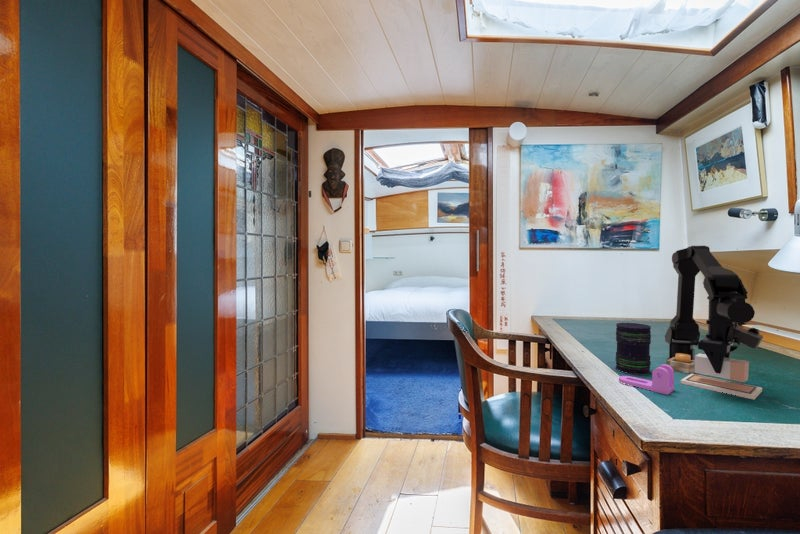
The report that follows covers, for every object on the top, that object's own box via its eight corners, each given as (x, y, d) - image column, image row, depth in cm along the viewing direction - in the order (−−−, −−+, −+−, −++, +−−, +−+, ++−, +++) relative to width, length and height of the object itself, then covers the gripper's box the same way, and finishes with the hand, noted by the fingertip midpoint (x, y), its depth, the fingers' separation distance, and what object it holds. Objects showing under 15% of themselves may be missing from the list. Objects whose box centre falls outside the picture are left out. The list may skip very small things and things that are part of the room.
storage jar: (644, 377, 116) (645, 329, 116) (610, 370, 124) (611, 325, 123) (654, 370, 123) (655, 325, 123) (621, 364, 130) (622, 321, 130)
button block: (666, 369, 124) (666, 360, 124) (673, 365, 129) (673, 356, 129) (692, 374, 119) (692, 365, 119) (699, 370, 123) (699, 361, 123)
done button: (673, 363, 124) (673, 354, 124) (677, 361, 126) (677, 352, 126) (688, 366, 121) (688, 357, 121) (692, 364, 123) (692, 355, 123)
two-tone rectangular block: (694, 372, 110) (694, 355, 110) (699, 369, 113) (699, 353, 113) (744, 382, 101) (744, 364, 101) (748, 379, 104) (748, 361, 104)
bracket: (673, 390, 105) (674, 365, 105) (667, 395, 102) (668, 369, 101) (622, 379, 115) (623, 356, 115) (615, 383, 112) (616, 359, 111)
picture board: (680, 383, 111) (680, 379, 110) (691, 376, 117) (691, 372, 117) (754, 399, 98) (754, 395, 98) (762, 391, 104) (762, 386, 104)
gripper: (752, 325, 95) (751, 386, 95) (766, 317, 106) (765, 372, 106) (698, 319, 103) (696, 375, 104) (716, 312, 115) (715, 363, 115)
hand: (720, 371), depth 107 cm, fingers closed on two-tone rectangular block, 4 cm apart
